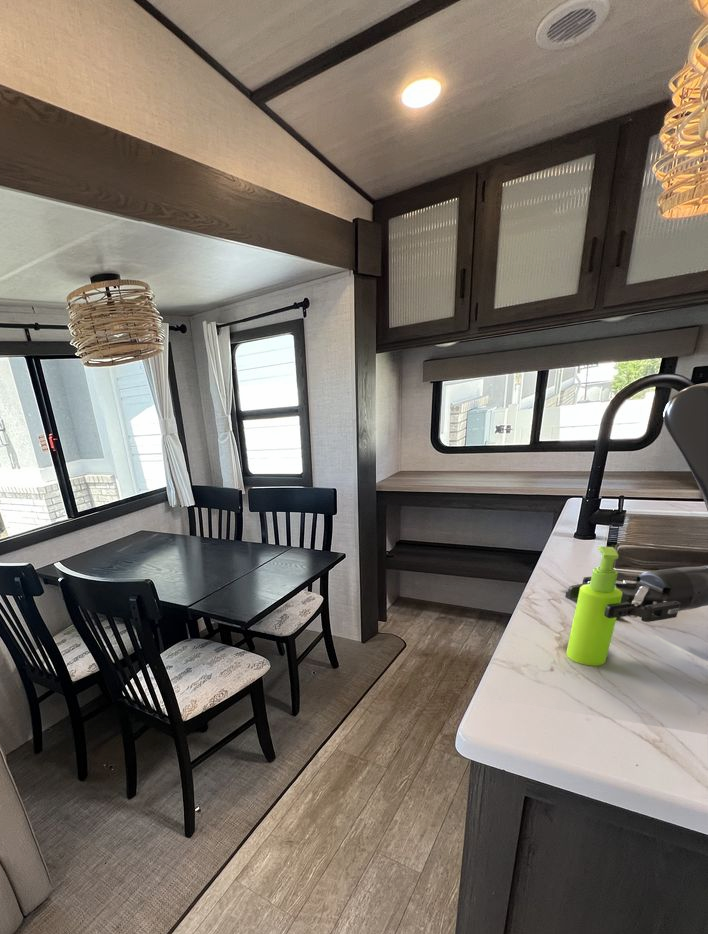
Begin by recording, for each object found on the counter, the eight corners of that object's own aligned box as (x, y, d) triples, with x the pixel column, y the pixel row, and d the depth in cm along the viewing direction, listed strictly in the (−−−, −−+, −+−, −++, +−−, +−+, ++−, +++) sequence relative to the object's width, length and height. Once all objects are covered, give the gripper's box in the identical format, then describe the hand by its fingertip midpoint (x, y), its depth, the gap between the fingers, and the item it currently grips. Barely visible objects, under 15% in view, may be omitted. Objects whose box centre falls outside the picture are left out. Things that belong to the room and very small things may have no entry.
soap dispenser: (601, 648, 86) (626, 544, 78) (608, 667, 80) (636, 558, 72) (563, 644, 88) (584, 543, 80) (568, 662, 83) (591, 556, 75)
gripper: (643, 556, 86) (561, 567, 85) (723, 584, 73) (627, 597, 72) (633, 594, 89) (554, 604, 88) (708, 627, 76) (616, 640, 75)
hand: (587, 601), depth 80 cm, fingers open, 8 cm apart
